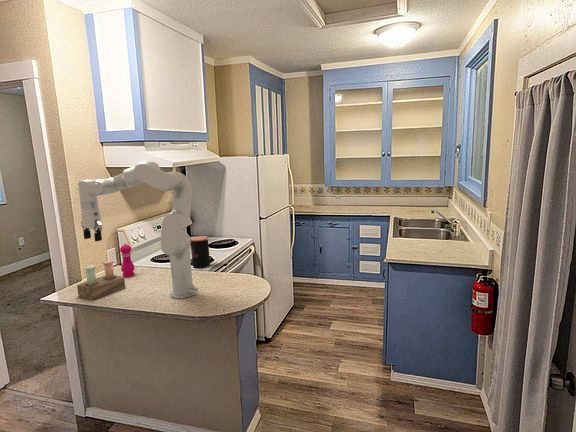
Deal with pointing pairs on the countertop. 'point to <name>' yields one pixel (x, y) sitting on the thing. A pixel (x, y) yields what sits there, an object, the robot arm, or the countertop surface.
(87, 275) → the green plug
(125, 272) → the pepper mill
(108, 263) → the peach peg
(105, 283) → the socket block
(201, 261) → the coffee jar
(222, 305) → the countertop surface
